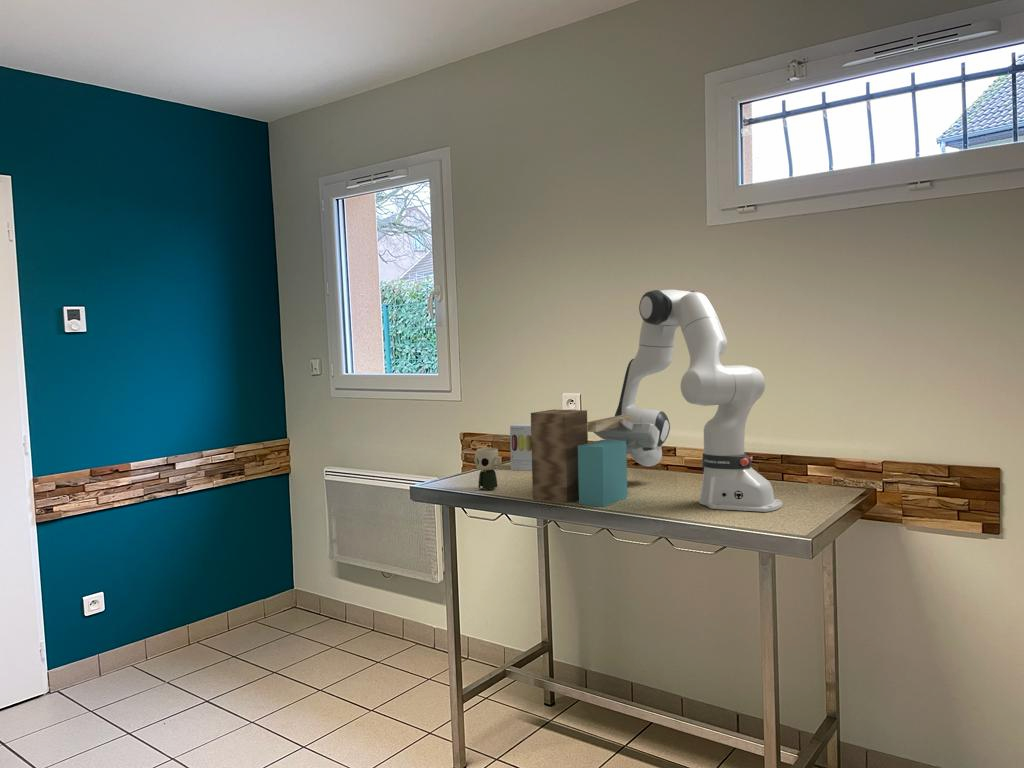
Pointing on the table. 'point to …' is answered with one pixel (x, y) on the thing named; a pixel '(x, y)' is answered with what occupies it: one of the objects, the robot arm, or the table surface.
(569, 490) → the pillar
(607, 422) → the baton
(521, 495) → the table surface
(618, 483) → the teal rectangular block
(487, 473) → the character mug
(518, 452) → the supplement box
